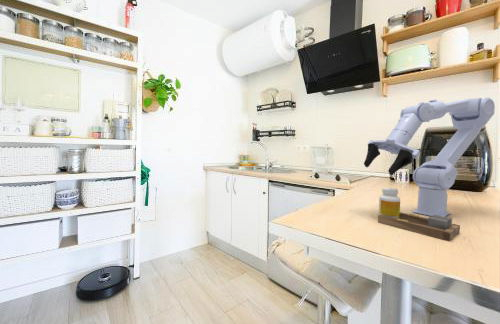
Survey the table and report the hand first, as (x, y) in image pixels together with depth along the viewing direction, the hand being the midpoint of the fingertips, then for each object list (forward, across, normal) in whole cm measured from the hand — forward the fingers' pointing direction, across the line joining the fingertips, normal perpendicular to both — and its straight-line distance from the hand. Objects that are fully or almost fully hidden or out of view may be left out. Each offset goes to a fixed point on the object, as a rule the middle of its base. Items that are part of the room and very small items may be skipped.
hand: (377, 169), depth 67 cm
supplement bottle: (+10, +6, +10) cm, 16 cm away
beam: (+9, +13, +10) cm, 19 cm away
